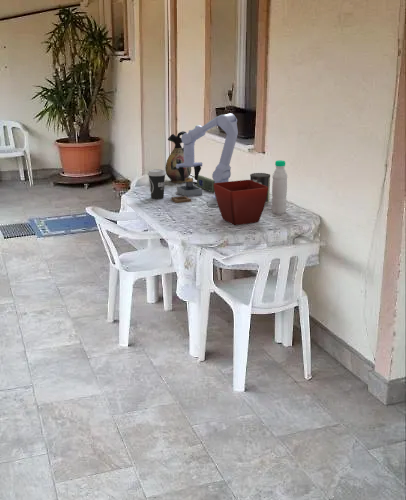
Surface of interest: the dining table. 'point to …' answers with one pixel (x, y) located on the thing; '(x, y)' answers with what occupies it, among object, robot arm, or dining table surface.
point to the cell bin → (189, 191)
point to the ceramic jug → (176, 160)
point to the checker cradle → (181, 199)
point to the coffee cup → (157, 183)
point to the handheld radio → (205, 183)
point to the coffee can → (262, 181)
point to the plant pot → (241, 201)
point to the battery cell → (189, 183)
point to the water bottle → (279, 188)
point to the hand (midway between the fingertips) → (189, 180)
